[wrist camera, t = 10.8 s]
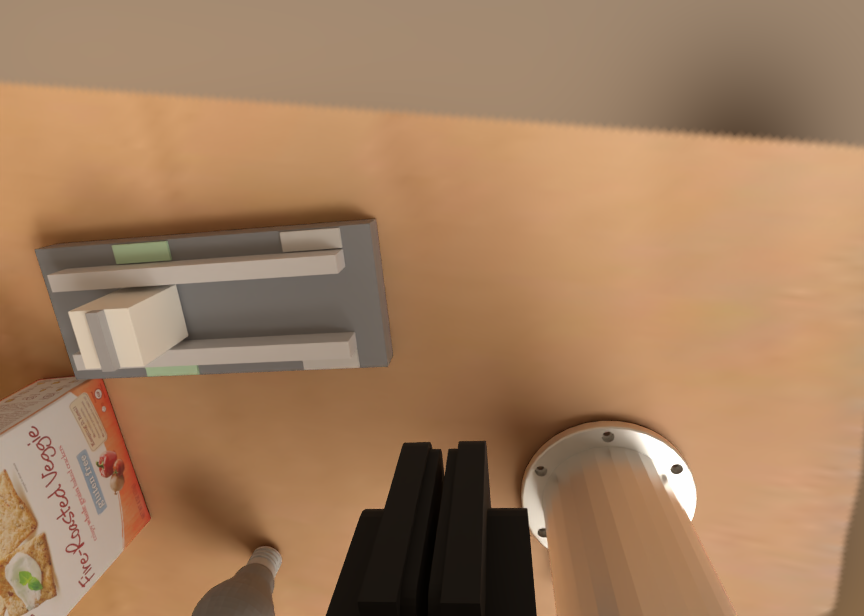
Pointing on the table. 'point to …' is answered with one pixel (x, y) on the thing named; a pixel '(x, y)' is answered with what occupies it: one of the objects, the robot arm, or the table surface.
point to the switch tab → (129, 327)
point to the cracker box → (62, 495)
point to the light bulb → (245, 589)
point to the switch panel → (240, 296)
